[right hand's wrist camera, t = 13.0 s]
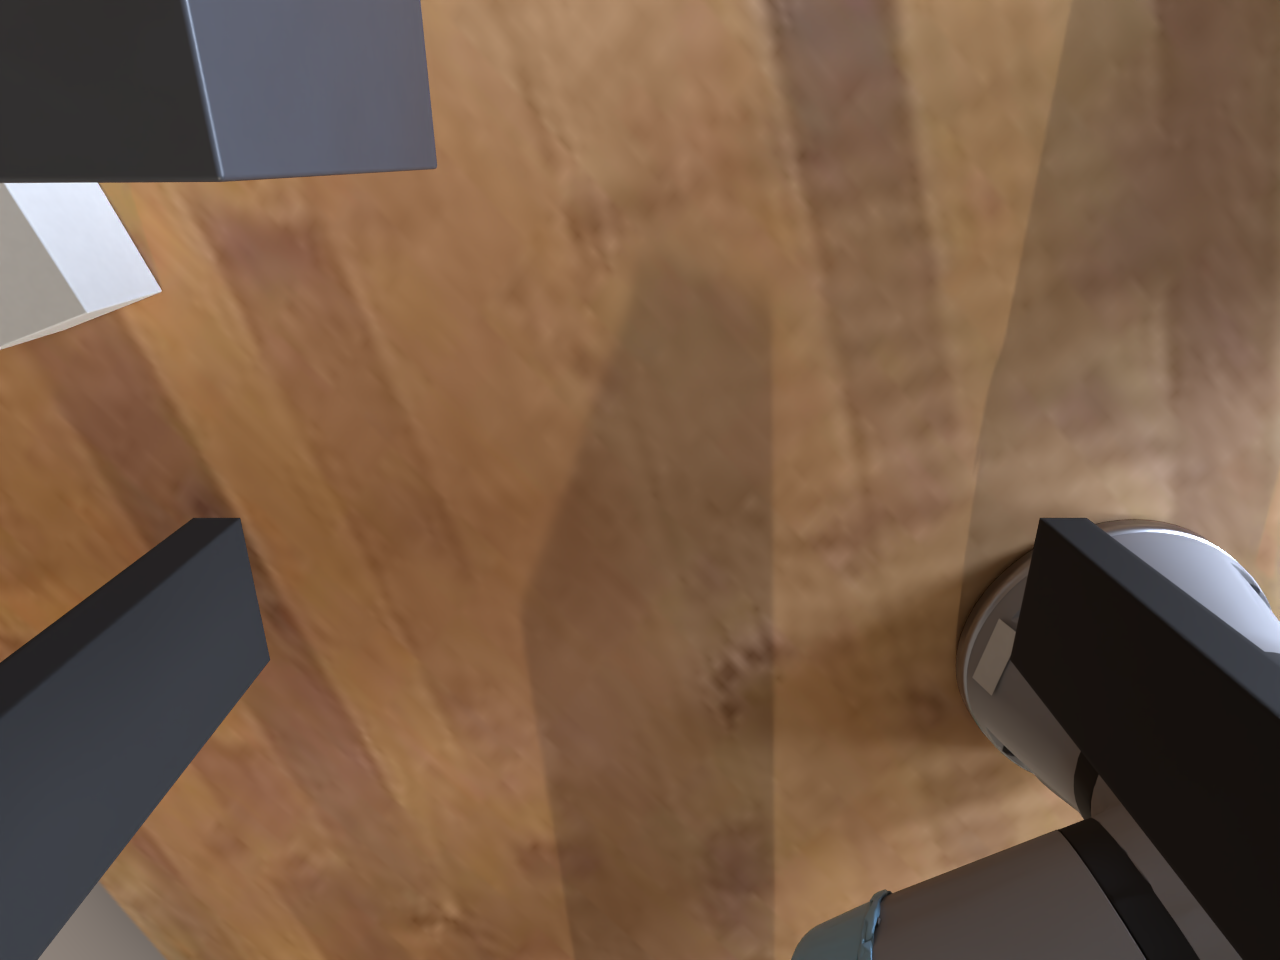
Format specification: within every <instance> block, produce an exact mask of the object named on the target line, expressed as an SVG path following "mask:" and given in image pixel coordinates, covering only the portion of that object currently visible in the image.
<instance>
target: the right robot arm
mask: <svg viewBox="0 0 1280 960" xmlns="http://www.w3.org/2000/svg"><path fill="white" fill-rule="evenodd" d="M269 661H270V657H269V652H268V648H267V643H266V638H265V633H264V629H263V624H262V619H261V615H260V610H259V605H258V600H257V596H256V591H255V586H254V581H253V577H252V572H251V567H250V563H249V558H248V553H247V548H246V544H245V539H244V534H243V529H242V525H241V520H240V518H193V519H191V520H190V521H189V522H187V523H186V524H185V525H183V526H182V527H181V528H179V529H178V530H177V531H175V532H174V533H173V534H171V535H170V536H169V537H167V538H166V539H165V540H163V541H162V542H161V543H159V544H158V545H157V546H155V547H154V548H153V549H151V550H150V551H149V552H147V553H146V554H145V555H143V556H142V557H141V558H139V559H138V560H137V561H135V562H134V563H133V564H131V565H130V566H129V567H127V568H126V569H125V570H123V571H122V572H121V573H119V574H118V575H117V576H115V577H114V578H113V579H111V580H110V581H109V582H107V583H106V584H105V585H103V586H102V587H101V588H99V589H98V590H97V591H95V592H94V593H93V594H91V595H90V596H89V597H87V598H86V599H85V600H83V601H82V602H81V603H79V604H78V605H77V606H75V607H74V608H73V609H71V610H70V611H69V612H67V613H66V614H65V615H63V616H62V617H61V618H59V619H58V620H57V621H55V622H54V623H53V624H51V625H50V626H49V627H47V628H46V629H45V630H43V631H42V632H41V633H39V634H38V635H37V636H35V637H34V638H33V639H31V640H30V641H29V642H27V643H26V644H25V645H23V646H22V647H21V648H19V649H18V650H17V651H15V652H14V653H13V654H11V655H10V656H9V657H7V658H6V659H5V660H3V661H2V662H1V663H0V960H38V958H39V957H40V956H41V954H42V953H43V952H44V951H45V949H46V948H47V947H48V945H49V944H50V943H51V942H52V940H53V939H54V938H55V936H56V935H57V934H58V933H59V931H60V930H61V929H62V927H63V926H64V925H65V923H66V922H67V921H68V920H69V918H70V917H71V916H72V914H73V913H74V912H75V911H76V909H77V908H78V907H79V905H80V904H81V903H82V902H83V900H84V899H85V898H86V896H87V895H88V894H89V893H90V891H91V890H92V889H93V887H94V886H95V885H96V884H97V882H98V881H99V880H100V878H101V877H102V876H103V875H104V873H105V872H106V871H107V869H108V868H109V867H110V865H111V864H112V863H113V862H114V860H115V859H116V858H117V856H118V855H119V854H120V853H121V851H122V850H123V849H124V847H125V846H126V845H127V844H128V842H129V841H130V840H131V838H132V837H133V836H134V835H135V833H136V832H137V831H138V829H139V828H140V827H141V826H142V824H143V823H144V822H145V820H146V819H147V818H148V817H149V815H150V814H151V813H152V811H153V810H154V809H155V808H156V806H157V805H158V804H159V802H160V801H161V800H162V798H163V797H164V796H165V795H166V793H167V792H168V791H169V789H170V788H171V787H172V786H173V784H174V783H175V782H176V780H177V779H178V778H179V777H180V775H181V774H182V773H183V771H184V770H185V769H186V768H187V766H188V765H189V764H190V762H191V761H192V760H193V759H194V757H195V756H196V755H197V753H198V752H199V751H200V750H201V748H202V747H203V746H204V744H205V743H206V742H207V740H208V739H209V738H210V737H211V735H212V734H213V733H214V731H215V730H216V729H217V728H218V726H219V725H220V724H221V722H222V721H223V720H224V719H225V717H226V716H227V715H228V713H229V712H230V711H231V710H232V708H233V707H234V706H235V704H236V703H237V702H238V701H239V699H240V698H241V697H242V695H243V694H244V693H245V692H246V690H247V689H248V688H249V686H250V685H251V684H252V683H253V681H254V680H255V679H256V677H257V676H258V675H259V673H260V672H261V671H262V670H263V668H264V667H265V666H266V664H267V663H268V662H269ZM956 676H957V683H958V687H959V691H960V694H961V696H962V699H963V701H964V703H965V705H966V707H967V709H968V711H969V712H970V714H971V715H972V717H973V719H974V720H975V722H976V724H977V725H978V726H979V728H980V729H981V731H982V732H983V733H984V734H985V736H986V737H987V738H988V739H989V740H990V741H991V742H992V744H993V745H994V746H995V747H996V748H997V749H998V750H999V751H1000V752H1001V753H1002V754H1004V755H1005V756H1006V757H1007V758H1008V759H1010V760H1011V761H1012V762H1014V763H1015V764H1017V765H1018V766H1020V767H1021V768H1023V769H1025V770H1027V771H1029V772H1031V773H1033V774H1034V775H1035V776H1036V777H1037V778H1038V779H1039V780H1040V781H1041V782H1042V783H1043V784H1044V785H1045V786H1046V787H1048V788H1049V789H1050V790H1051V791H1052V792H1054V793H1055V794H1056V795H1057V796H1059V797H1060V798H1061V799H1063V800H1064V801H1065V802H1066V803H1068V804H1069V805H1070V806H1072V807H1073V808H1074V809H1076V810H1077V811H1078V812H1079V813H1080V814H1081V816H1082V817H1083V819H1084V820H1083V821H1080V822H1077V823H1075V824H1072V825H1070V826H1067V827H1065V828H1062V829H1058V830H1055V831H1052V832H1050V833H1047V834H1044V835H1042V836H1039V837H1037V838H1034V839H1031V840H1029V841H1026V842H1024V843H1021V844H1019V845H1016V846H1013V847H1011V848H1008V849H1006V850H1003V851H1001V852H998V853H995V854H993V855H990V856H988V857H985V858H983V859H980V860H977V861H975V862H972V863H970V864H967V865H964V866H962V867H959V868H957V869H954V870H952V871H949V872H946V873H944V874H941V875H939V876H936V877H934V878H931V879H928V880H926V881H923V882H921V883H918V884H916V885H913V886H910V887H908V888H905V889H903V890H900V891H897V892H895V893H892V892H891V891H887V890H882V891H879V892H877V893H876V894H874V895H873V897H872V898H871V900H870V902H867V903H865V904H863V905H861V906H859V907H856V908H854V909H852V910H850V911H848V912H846V913H843V914H841V915H839V916H837V917H835V918H832V919H830V920H828V921H826V922H824V923H822V924H819V925H817V926H816V927H814V928H813V929H811V930H810V931H809V932H808V933H807V934H806V935H805V936H804V937H803V938H802V939H801V941H800V942H799V944H798V945H797V947H796V949H795V951H794V954H793V956H792V959H791V960H1280V622H1279V621H1278V619H1277V618H1276V617H1275V615H1274V614H1273V613H1272V611H1271V608H1270V605H1269V603H1268V600H1267V598H1266V596H1265V595H1264V594H1263V592H1262V590H1261V589H1260V587H1259V585H1258V584H1257V583H1256V581H1255V580H1254V579H1253V577H1252V576H1251V575H1250V574H1249V573H1248V572H1247V571H1246V570H1245V569H1244V568H1243V567H1242V566H1241V565H1240V564H1239V563H1238V562H1237V561H1236V560H1234V559H1233V558H1232V557H1231V556H1230V555H1229V554H1227V553H1226V552H1224V551H1223V550H1221V549H1220V548H1218V547H1217V546H1215V545H1214V544H1212V543H1211V542H1209V541H1208V540H1206V539H1205V538H1203V537H1202V536H1200V535H1198V534H1196V533H1194V532H1192V531H1190V530H1188V529H1185V528H1183V527H1180V526H1177V525H1173V524H1169V523H1165V522H1160V521H1153V520H1137V519H1133V520H1117V521H1109V522H1103V523H1098V524H1094V523H1093V522H1091V521H1090V520H1089V519H1087V518H1040V520H1039V525H1038V529H1037V534H1036V539H1035V544H1034V548H1033V550H1031V551H1030V552H1028V553H1027V554H1025V555H1024V556H1022V557H1021V558H1019V559H1018V560H1017V561H1016V562H1014V563H1013V564H1012V565H1011V566H1009V567H1008V568H1007V569H1006V570H1005V571H1004V572H1003V573H1002V574H1001V575H1000V576H998V577H997V578H996V580H995V581H994V582H993V583H992V584H991V585H990V586H989V587H988V588H987V590H986V591H985V592H984V593H983V595H982V596H981V597H980V599H979V600H978V602H977V603H976V605H975V606H974V608H973V610H972V611H971V613H970V615H969V617H968V619H967V621H966V623H965V626H964V628H963V631H962V633H961V637H960V640H959V644H958V649H957V656H956Z"/></svg>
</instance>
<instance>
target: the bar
mask: <svg viewBox="0 0 1280 960" xmlns="http://www.w3.org/2000/svg"><path fill="white" fill-rule="evenodd" d="M435 168H437V159H436V150H435V140H434V130H433V120H432V110H431V101H430V91H429V81H428V71H427V61H426V52H425V42H424V32H423V22H422V13H421V3H420V0H0V183H105V182H226V181H243V180H259V179H276V178H293V177H310V176H326V175H343V174H360V173H377V172H393V171H410V170H427V169H435Z"/></svg>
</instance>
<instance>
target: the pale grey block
mask: <svg viewBox="0 0 1280 960" xmlns="http://www.w3.org/2000/svg"><path fill="white" fill-rule="evenodd" d="M161 291H162V290H161V288H160V287H159V285H158V283H157V282H156V280H155V278H154V277H153V275H152V273H151V272H150V270H149V268H148V267H147V265H146V263H145V262H144V260H143V258H142V256H141V255H140V253H139V251H138V250H137V248H136V246H135V245H134V243H133V241H132V240H131V238H130V236H129V235H128V233H127V231H126V230H125V228H124V226H123V225H122V223H121V221H120V220H119V218H118V216H117V214H116V213H115V211H114V209H113V208H112V206H111V204H110V203H109V201H108V199H107V198H106V196H105V194H104V193H103V191H102V189H101V188H100V186H99V184H98V183H0V350H1V349H4V348H7V347H11V346H14V345H17V344H20V343H24V342H27V341H30V340H33V339H37V338H40V337H43V336H46V335H49V334H53V333H56V332H59V331H62V330H66V329H68V328H71V327H73V326H76V325H78V324H81V323H83V322H86V321H89V320H91V319H94V318H96V317H99V316H101V315H104V314H106V313H109V312H112V311H114V310H117V309H119V308H122V307H124V306H127V305H129V304H132V303H134V302H137V301H140V300H142V299H145V298H147V297H150V296H152V295H155V294H157V293H160V292H161Z"/></svg>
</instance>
